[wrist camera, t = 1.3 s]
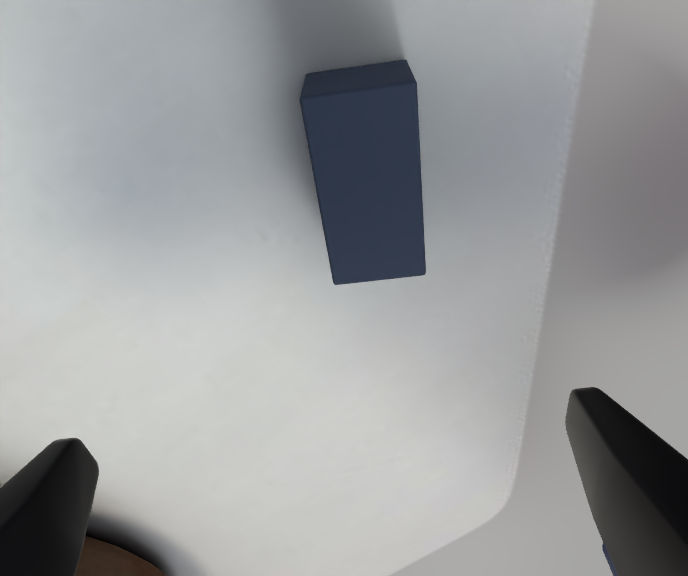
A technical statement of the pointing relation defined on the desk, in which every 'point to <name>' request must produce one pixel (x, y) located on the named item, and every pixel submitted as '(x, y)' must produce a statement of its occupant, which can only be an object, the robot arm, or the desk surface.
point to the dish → (111, 561)
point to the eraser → (367, 169)
